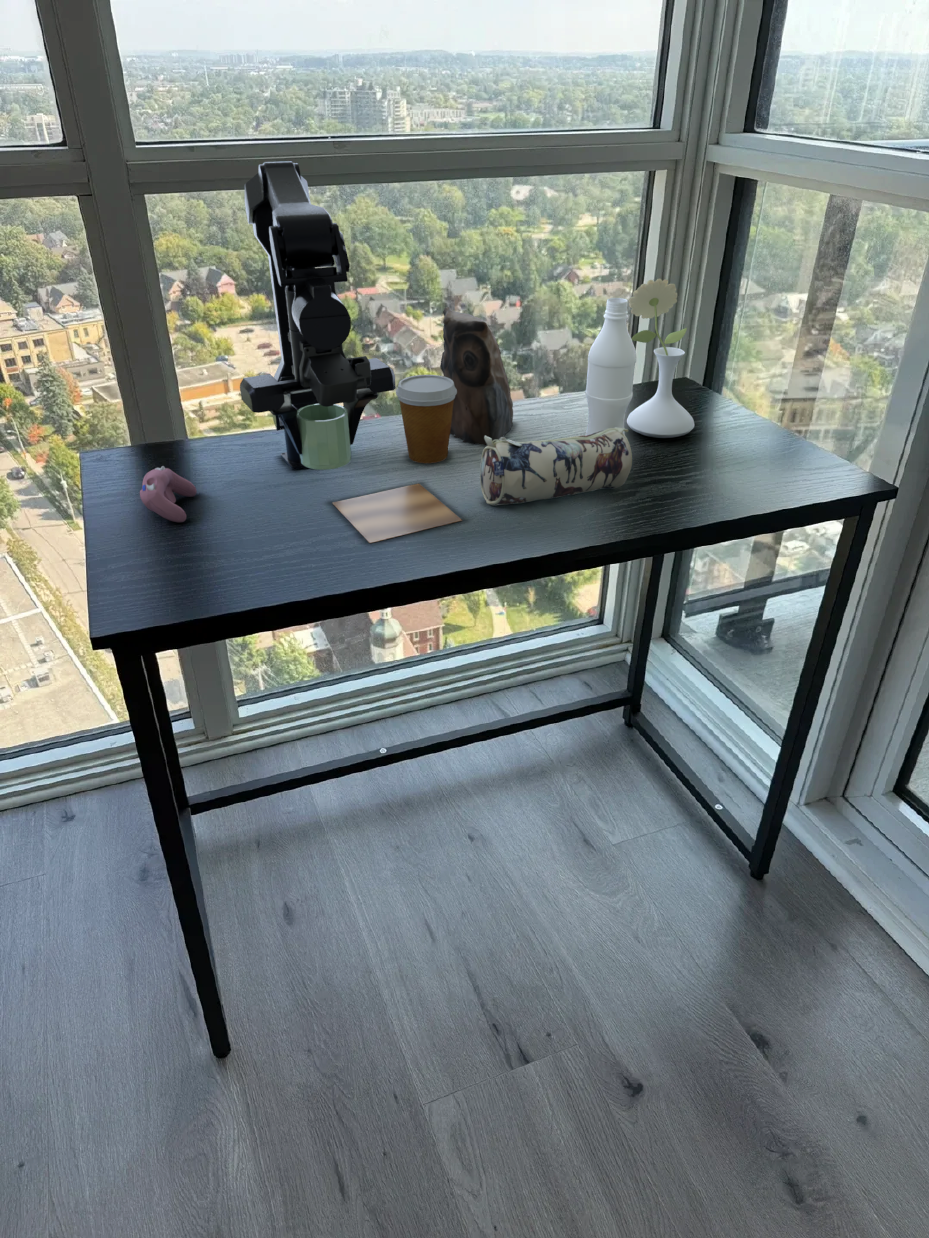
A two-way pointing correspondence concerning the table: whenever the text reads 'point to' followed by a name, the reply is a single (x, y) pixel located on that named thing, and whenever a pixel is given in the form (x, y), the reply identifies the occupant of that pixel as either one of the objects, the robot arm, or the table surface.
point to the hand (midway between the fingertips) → (325, 448)
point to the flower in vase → (662, 409)
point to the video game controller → (165, 493)
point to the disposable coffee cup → (427, 415)
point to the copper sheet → (395, 512)
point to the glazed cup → (324, 436)
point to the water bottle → (610, 370)
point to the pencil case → (553, 466)
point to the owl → (475, 379)
